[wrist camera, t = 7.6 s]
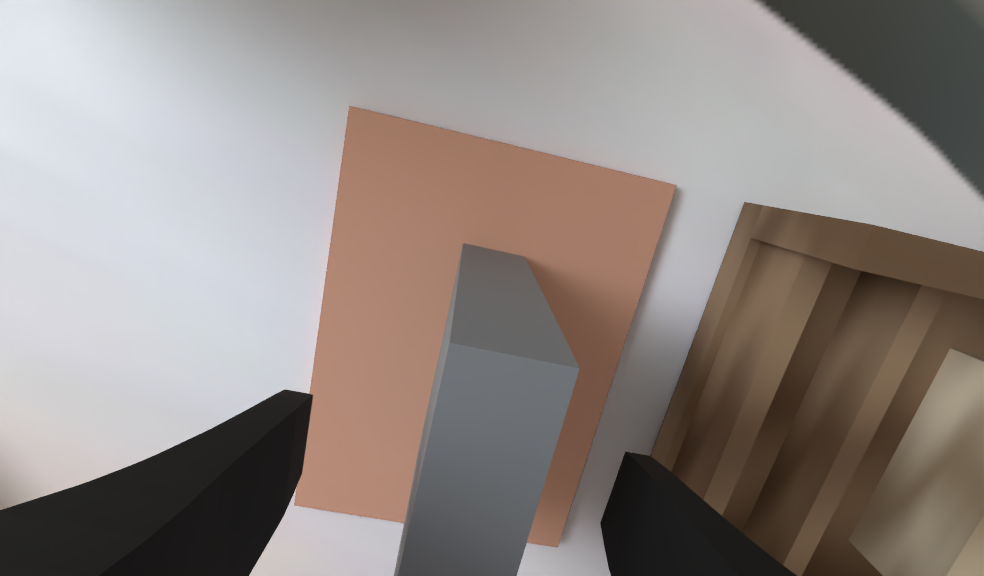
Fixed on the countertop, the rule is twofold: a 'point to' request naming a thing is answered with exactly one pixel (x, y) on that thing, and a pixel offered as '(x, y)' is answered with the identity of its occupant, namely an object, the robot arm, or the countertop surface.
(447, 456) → the gray block
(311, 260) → the countertop surface
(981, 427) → the birch offcut
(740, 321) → the walnut rack
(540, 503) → the terracotta mat
